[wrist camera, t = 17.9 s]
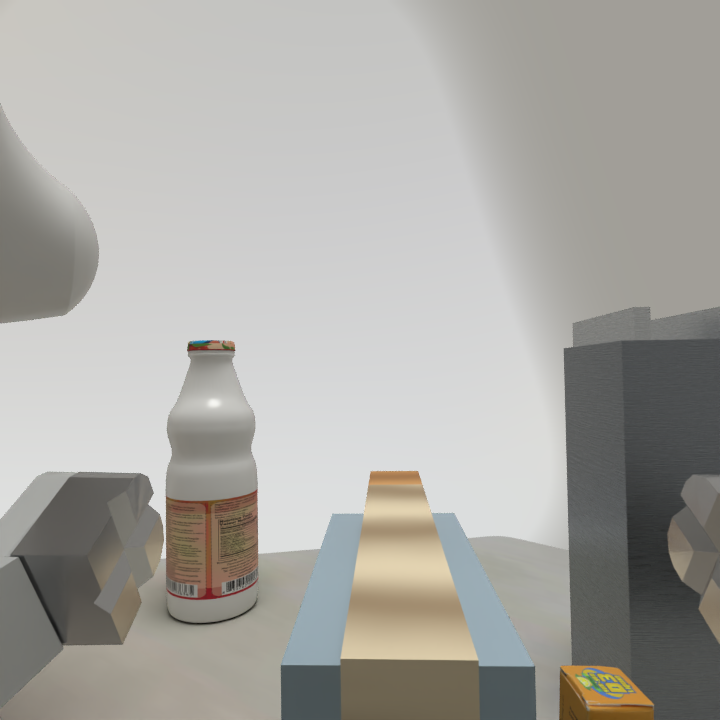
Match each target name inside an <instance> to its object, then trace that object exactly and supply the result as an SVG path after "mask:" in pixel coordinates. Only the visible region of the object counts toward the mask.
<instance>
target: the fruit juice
mask: <svg viewBox="0 0 720 720" xmlns="http://www.w3.org/2000/svg"><path fill="white" fill-rule="evenodd" d="M187 351H188V356H189V357H190V359H191V363H190V367H189V370H188V372H187V375H186V379H185V381H184V385H183V387H182V390H181V392H180V395H179V398H178V400H177V402H176V404H175V406H174V407H173V409H172V410H171V412H170V414H169V417H168V422H167V433H168V438H169V441H170V444H171V448H172V457H171V460H170V463H169V465H168V469H167V476H166V594H167V607H168V610H169V613H170V614H171V615H172V616H173V617H174V618H176V619H178V620H181V621H185V622H191V623H209V622H217V621H222V620H226V619H230V618H233V617H235V616H238V615H240V614H242V613H244V612H246V611H247V610H249V609H250V608H251V607H252V606H253V605H254V604H255V602H256V599H257V596H258V512H257V511H258V508H257V469H256V463H255V460H254V458H253V455H252V452H251V444H252V440H253V436H254V432H255V416H254V413H253V410H252V408H251V407H250V405H249V404H248V402H247V400H246V398H245V396H244V394H243V391H242V389H241V386H240V383H239V380H238V378H237V375H236V372H235V369H234V367H233V363H232V358H233V357H234V351H235V345H234V342H232V341H213V340H211V341H208V340H207V341H190V342H189V343H188V349H187Z"/></svg>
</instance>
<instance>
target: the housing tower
mask: <svg viewBox="0 0 720 720" xmlns="http://www.w3.org/2000/svg"><path fill="white" fill-rule="evenodd" d="M564 371H565V372H564V373H565V410H566V411H565V412H566V450H567V487H568V523H569V525H568V526H569V564H570V601H571V639H572V666H606V667H614V668H618V669H620V670H621V671H622V672H623V673H624V674H625V675H626V676H627V677H628V678H629V679H630V680H631V681H632V682H633V683H634V684H635V685H636V686H637V687H638V688H639V689H640V691H641V692H642V693H643V694H644V695H645V696H646V697H647V698H648V699H649V700H650V701H651V702H652V703H653V704H654V720H720V644H719V642H718V641H717V639H716V637H715V636H714V634H713V632H712V631H711V629H710V627H709V626H708V624H707V622H706V621H705V619H704V617H703V616H702V614H701V612H700V611H699V604H700V599H701V595H700V594H699V593H698V592H696V591H695V590H693V589H692V588H691V587H689V586H688V585H686V584H685V583H684V582H682V580H681V579H680V577H679V575H678V573H677V572H676V570H675V568H674V566H673V563H672V560H671V557H670V554H669V550H668V537H667V533H668V530H669V526H670V523H671V520H672V517H673V516H674V515H676V514H677V513H678V512H680V511H681V510H682V509H684V508H685V507H686V506H687V505H686V504H685V502H684V500H683V499H682V497H681V492H682V489H683V487H684V484H685V482H686V481H687V480H688V479H689V478H690V477H691V476H692V475H720V307H716V308H711V309H707V310H702V311H696V312H691V313H686V314H681V315H676V316H671V317H666V318H660V319H655V320H650V307H633V308H629V309H625V310H622V311H618V312H614V313H610V314H606V315H602V316H599V317H595V318H591V319H587V320H584V321H580V322H576V323H573V347H571V348H564Z"/></svg>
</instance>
